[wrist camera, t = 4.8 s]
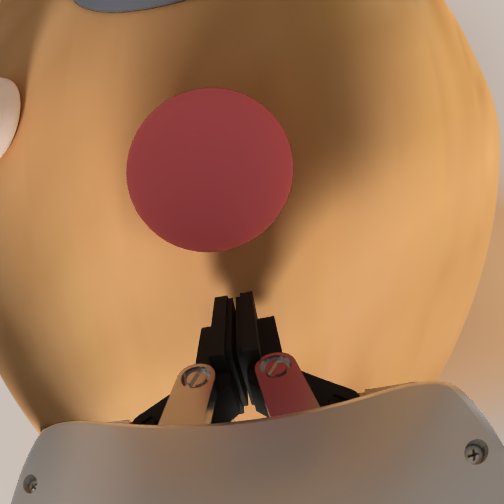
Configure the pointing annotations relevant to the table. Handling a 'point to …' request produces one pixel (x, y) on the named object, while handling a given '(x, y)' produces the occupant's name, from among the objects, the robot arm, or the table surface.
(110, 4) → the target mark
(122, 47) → the table surface
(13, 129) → the drinking glass
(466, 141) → the table surface
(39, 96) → the table surface
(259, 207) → the ball
